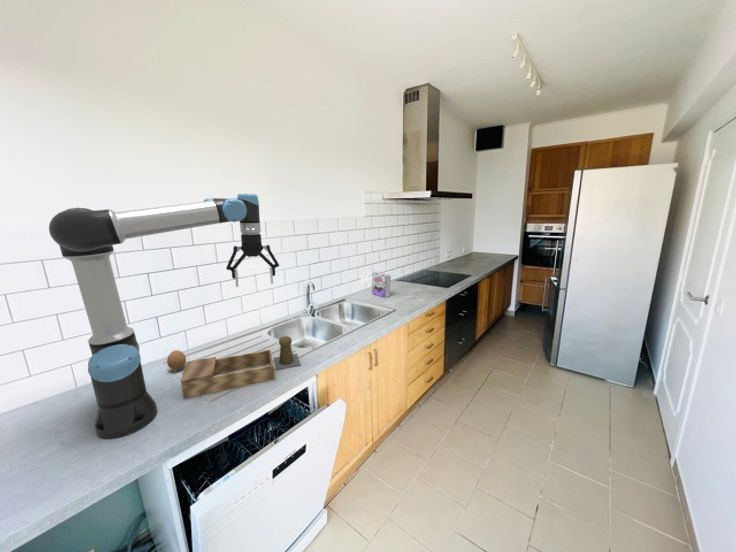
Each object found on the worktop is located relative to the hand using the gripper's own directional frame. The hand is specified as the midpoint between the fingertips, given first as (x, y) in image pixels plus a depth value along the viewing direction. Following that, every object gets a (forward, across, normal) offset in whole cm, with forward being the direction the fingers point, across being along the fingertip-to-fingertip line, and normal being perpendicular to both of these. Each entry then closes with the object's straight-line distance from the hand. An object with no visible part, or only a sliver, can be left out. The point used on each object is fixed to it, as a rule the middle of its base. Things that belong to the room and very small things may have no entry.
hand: (254, 284), depth 124 cm
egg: (+34, -32, +1) cm, 46 cm away
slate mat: (+33, +10, -9) cm, 36 cm away
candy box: (+32, +86, +62) cm, 111 cm away
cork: (+33, +10, -9) cm, 35 cm away
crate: (+33, -11, -14) cm, 38 cm away
